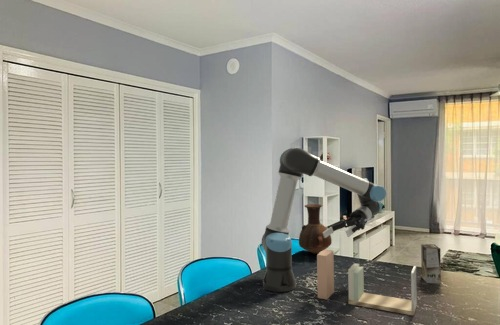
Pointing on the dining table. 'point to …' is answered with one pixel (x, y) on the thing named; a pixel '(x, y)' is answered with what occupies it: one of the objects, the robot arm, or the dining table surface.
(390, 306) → the board
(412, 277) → the grey flat panel
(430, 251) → the coffee box
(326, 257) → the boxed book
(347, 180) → the robot arm
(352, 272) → the books
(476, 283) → the dining table surface
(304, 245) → the vase
